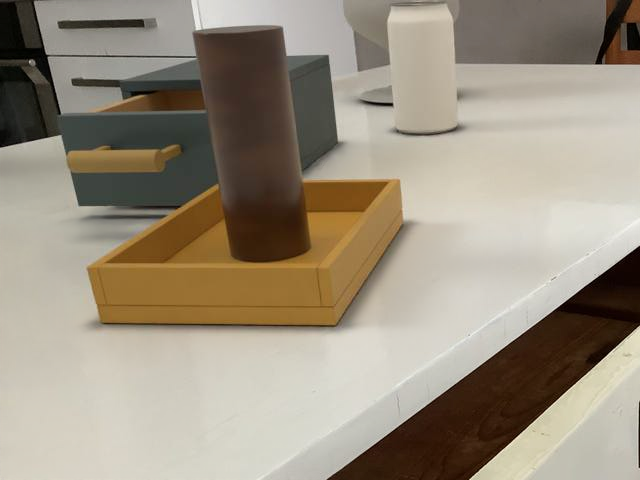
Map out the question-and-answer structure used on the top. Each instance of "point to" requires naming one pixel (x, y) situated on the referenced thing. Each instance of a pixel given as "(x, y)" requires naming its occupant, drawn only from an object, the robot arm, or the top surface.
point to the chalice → (379, 31)
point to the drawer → (140, 150)
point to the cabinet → (306, 88)
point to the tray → (250, 277)
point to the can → (423, 67)
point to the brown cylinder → (254, 140)
